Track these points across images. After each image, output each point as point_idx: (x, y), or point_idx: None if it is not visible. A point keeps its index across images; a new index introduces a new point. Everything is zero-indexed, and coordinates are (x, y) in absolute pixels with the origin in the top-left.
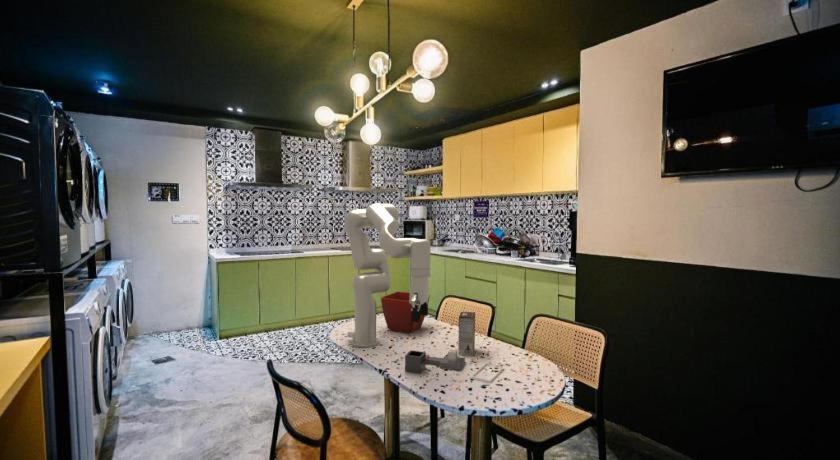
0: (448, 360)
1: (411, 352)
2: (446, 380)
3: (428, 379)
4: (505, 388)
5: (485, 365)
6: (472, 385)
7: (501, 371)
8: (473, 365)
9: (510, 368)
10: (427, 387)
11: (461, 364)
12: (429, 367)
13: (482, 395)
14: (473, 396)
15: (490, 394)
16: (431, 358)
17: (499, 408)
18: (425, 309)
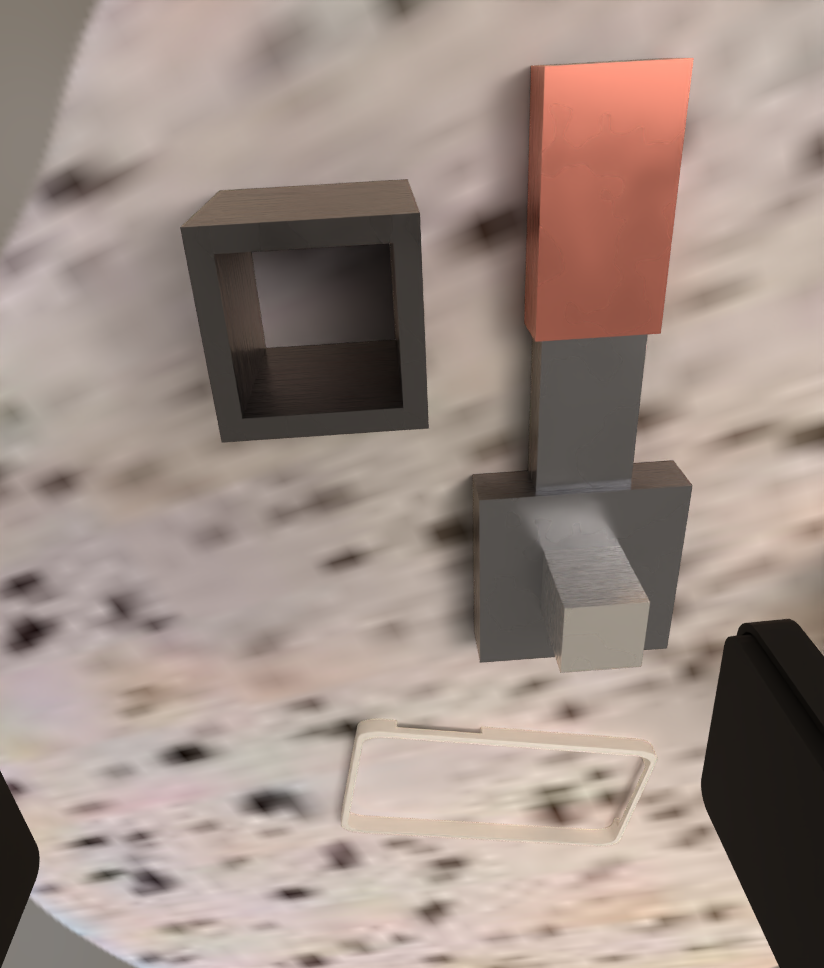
0: (545, 559)
1: (376, 240)
2: (234, 599)
3: (172, 475)
4: (304, 885)
5: (631, 745)
6: (247, 752)
7: (556, 831)
8: (617, 678)
9: (629, 857)
10: (20, 521)
11: (517, 654)
12: (443, 387)
13: (138, 822)
14: (92, 791)
15: (178, 848)
16: (589, 376)
17: (40, 905)
18: (793, 938)
